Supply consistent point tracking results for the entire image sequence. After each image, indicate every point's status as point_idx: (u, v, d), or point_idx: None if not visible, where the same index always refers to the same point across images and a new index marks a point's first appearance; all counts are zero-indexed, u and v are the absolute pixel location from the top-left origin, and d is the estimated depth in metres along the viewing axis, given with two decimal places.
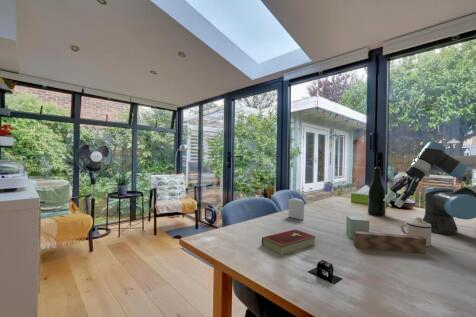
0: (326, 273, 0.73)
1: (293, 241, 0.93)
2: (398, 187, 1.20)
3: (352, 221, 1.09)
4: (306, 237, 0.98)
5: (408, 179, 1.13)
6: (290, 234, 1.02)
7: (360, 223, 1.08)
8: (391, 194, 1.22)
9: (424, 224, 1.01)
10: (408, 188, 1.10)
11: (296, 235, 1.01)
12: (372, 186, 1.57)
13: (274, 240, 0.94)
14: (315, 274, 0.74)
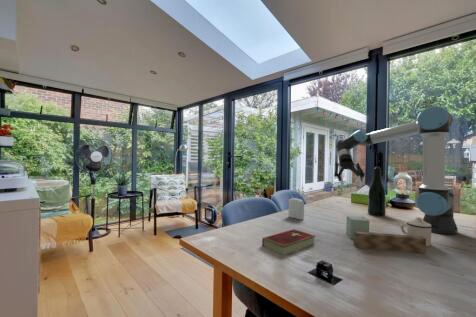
0: (326, 273, 0.73)
1: (294, 241, 0.93)
2: (354, 172, 1.37)
3: (352, 221, 1.09)
4: (306, 237, 0.98)
5: None
6: (290, 234, 1.02)
7: (360, 223, 1.08)
8: (358, 179, 1.33)
9: (424, 224, 1.01)
10: (339, 172, 1.38)
11: (296, 235, 1.01)
12: (372, 186, 1.57)
13: (275, 241, 0.93)
14: (314, 275, 0.73)
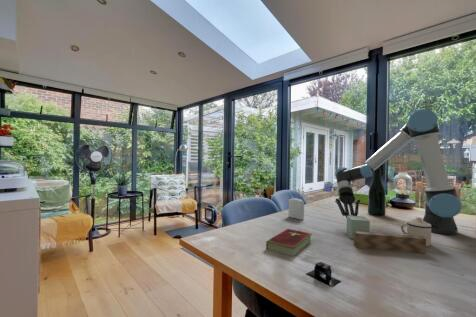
0: (324, 275, 0.72)
1: (298, 241, 0.94)
2: (350, 208, 1.24)
3: (352, 221, 1.08)
4: (305, 236, 1.00)
5: (343, 202, 1.29)
6: (289, 234, 1.02)
7: (361, 223, 1.08)
8: None
9: (424, 224, 1.01)
10: None
11: (295, 234, 1.01)
12: (372, 186, 1.57)
13: (281, 243, 0.91)
14: (313, 276, 0.72)
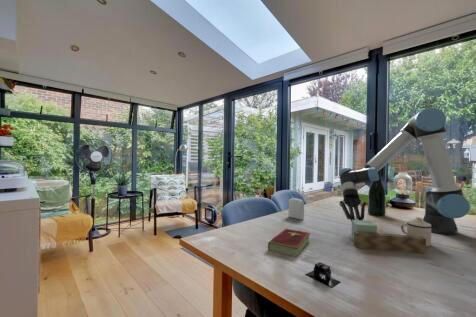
0: (324, 276, 0.72)
1: (300, 241, 0.94)
2: (355, 212, 1.16)
3: (358, 226, 1.00)
4: (305, 235, 1.01)
5: None
6: (288, 234, 1.02)
7: (367, 228, 1.00)
8: None
9: (424, 224, 1.01)
10: (350, 213, 1.17)
11: (295, 234, 1.01)
12: (372, 186, 1.57)
13: (284, 243, 0.91)
14: (312, 277, 0.72)
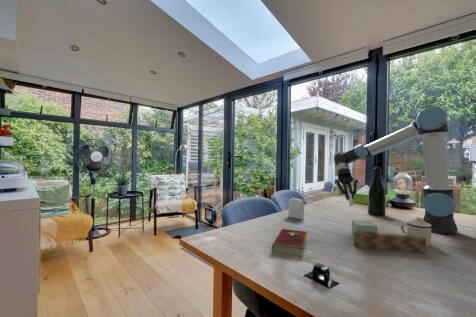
0: (322, 277, 0.71)
1: (302, 241, 0.94)
2: (348, 188, 1.30)
3: (358, 227, 1.00)
4: (304, 234, 1.02)
5: (342, 183, 1.35)
6: (288, 234, 1.02)
7: (367, 229, 0.99)
8: None
9: (424, 224, 1.01)
10: (344, 189, 1.31)
11: (294, 234, 1.02)
12: (372, 186, 1.57)
13: (288, 244, 0.90)
14: (311, 278, 0.71)
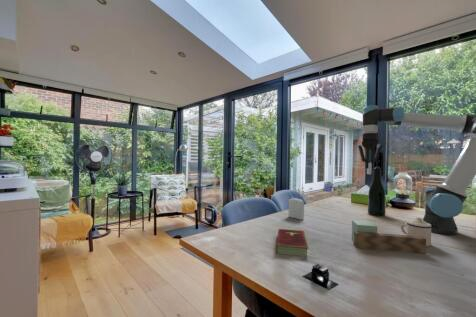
0: (321, 278, 0.70)
1: (304, 240, 0.95)
2: (370, 154, 1.31)
3: (358, 227, 1.00)
4: (302, 234, 1.03)
5: None
6: (287, 234, 1.01)
7: (367, 229, 0.99)
8: None
9: (424, 224, 1.01)
10: (365, 156, 1.32)
11: (293, 234, 1.02)
12: (372, 186, 1.57)
13: (292, 245, 0.90)
14: (310, 279, 0.71)
